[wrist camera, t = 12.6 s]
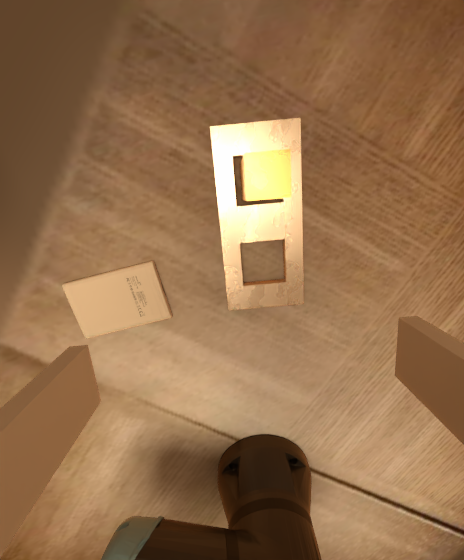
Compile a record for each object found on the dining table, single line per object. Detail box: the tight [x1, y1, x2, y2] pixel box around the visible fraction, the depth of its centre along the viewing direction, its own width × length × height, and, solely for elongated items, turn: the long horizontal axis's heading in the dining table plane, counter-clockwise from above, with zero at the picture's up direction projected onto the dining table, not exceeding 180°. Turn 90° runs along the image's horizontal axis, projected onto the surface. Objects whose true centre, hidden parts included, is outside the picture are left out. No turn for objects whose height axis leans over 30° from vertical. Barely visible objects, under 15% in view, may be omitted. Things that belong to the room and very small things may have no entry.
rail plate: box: [210, 118, 304, 310], centre depth 35 cm, size 22×10×2 cm, turn 5°
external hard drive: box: [62, 260, 173, 339], centre depth 38 cm, size 2×8×12 cm
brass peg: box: [240, 149, 292, 201], centre depth 30 cm, size 4×4×10 cm
